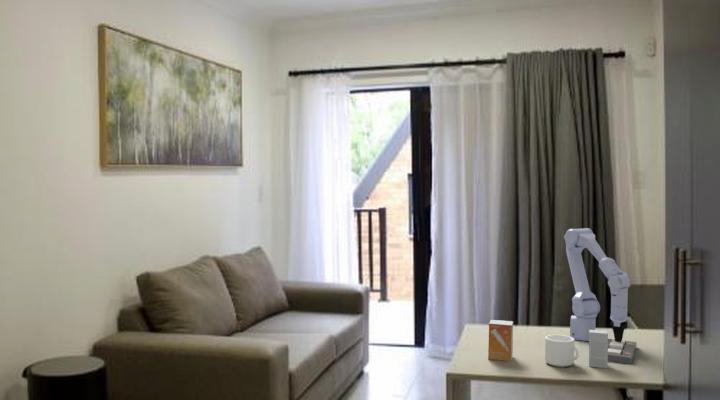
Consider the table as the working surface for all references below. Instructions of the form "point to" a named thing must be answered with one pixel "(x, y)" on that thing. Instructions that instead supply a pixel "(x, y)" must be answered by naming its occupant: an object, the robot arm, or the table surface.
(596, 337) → the skincare box
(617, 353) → the key outer
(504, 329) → the small box
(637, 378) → the table surface
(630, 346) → the keypad frame
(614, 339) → the key inner
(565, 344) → the mug
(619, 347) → the key middle
